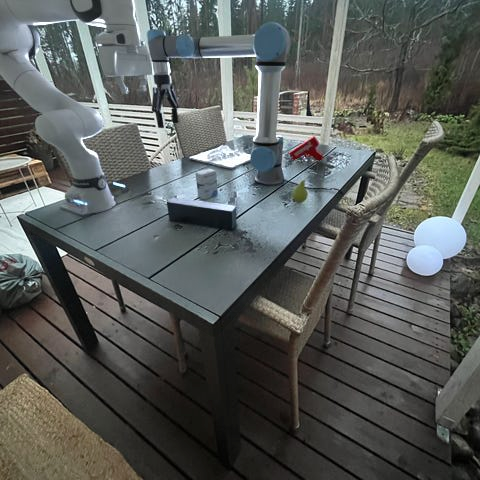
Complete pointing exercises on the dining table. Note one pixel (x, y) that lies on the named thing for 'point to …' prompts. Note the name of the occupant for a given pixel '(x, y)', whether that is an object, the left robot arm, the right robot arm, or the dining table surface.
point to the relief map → (223, 157)
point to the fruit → (300, 192)
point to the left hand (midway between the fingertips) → (134, 92)
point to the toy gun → (307, 150)
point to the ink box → (206, 183)
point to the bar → (202, 213)
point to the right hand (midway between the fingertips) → (168, 125)
